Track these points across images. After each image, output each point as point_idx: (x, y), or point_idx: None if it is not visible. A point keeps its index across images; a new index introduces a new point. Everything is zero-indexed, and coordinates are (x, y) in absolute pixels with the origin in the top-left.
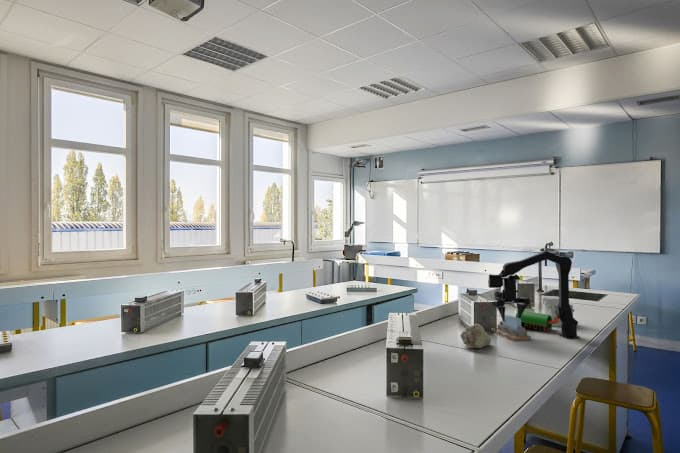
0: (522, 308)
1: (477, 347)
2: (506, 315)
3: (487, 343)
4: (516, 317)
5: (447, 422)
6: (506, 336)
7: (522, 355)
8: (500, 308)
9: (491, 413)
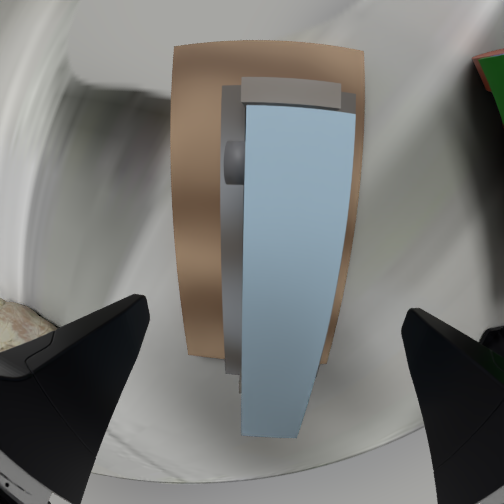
0: (435, 477)
1: None
2: (265, 233)
3: None
4: (305, 395)
5: None
6: (182, 295)
7: (145, 438)
8: (24, 411)
9: None
